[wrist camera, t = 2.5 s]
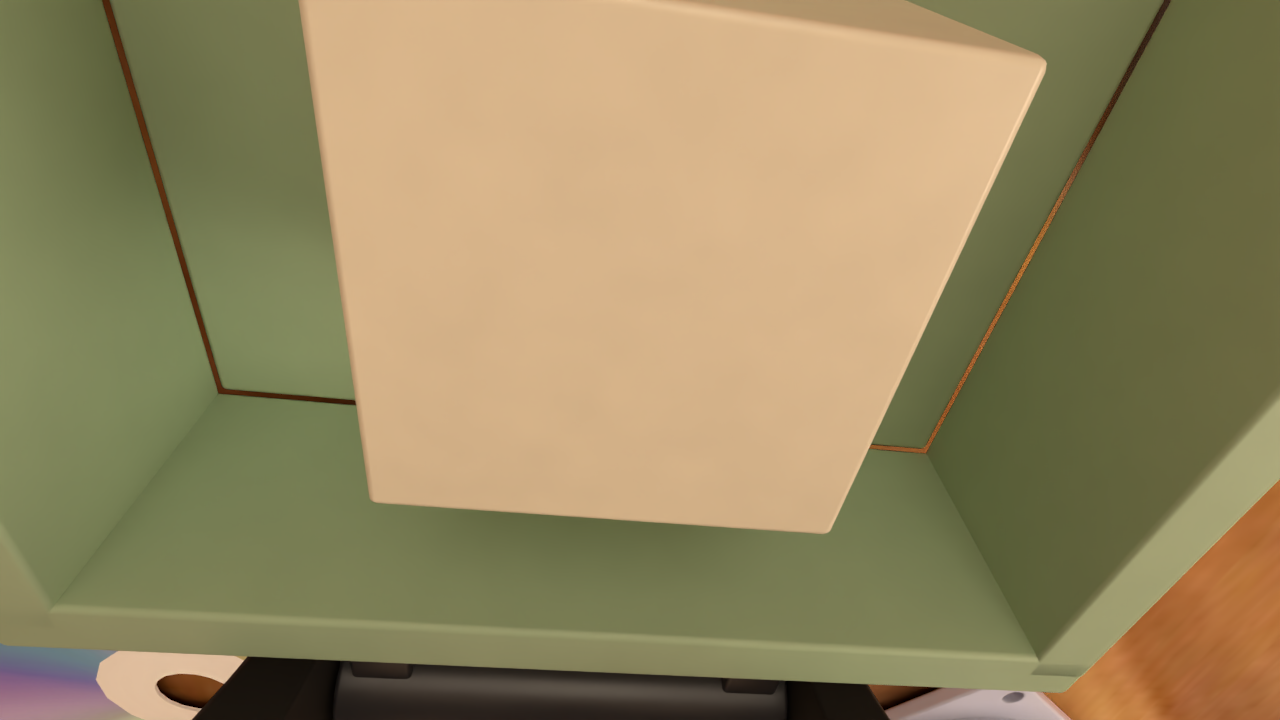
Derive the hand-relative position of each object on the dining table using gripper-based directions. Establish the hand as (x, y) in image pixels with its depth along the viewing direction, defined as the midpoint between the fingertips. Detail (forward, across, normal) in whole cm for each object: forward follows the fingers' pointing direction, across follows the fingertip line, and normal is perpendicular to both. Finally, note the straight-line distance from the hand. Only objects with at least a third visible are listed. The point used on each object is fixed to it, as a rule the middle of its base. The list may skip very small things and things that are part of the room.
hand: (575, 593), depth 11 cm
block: (+1, 0, -8) cm, 8 cm away
